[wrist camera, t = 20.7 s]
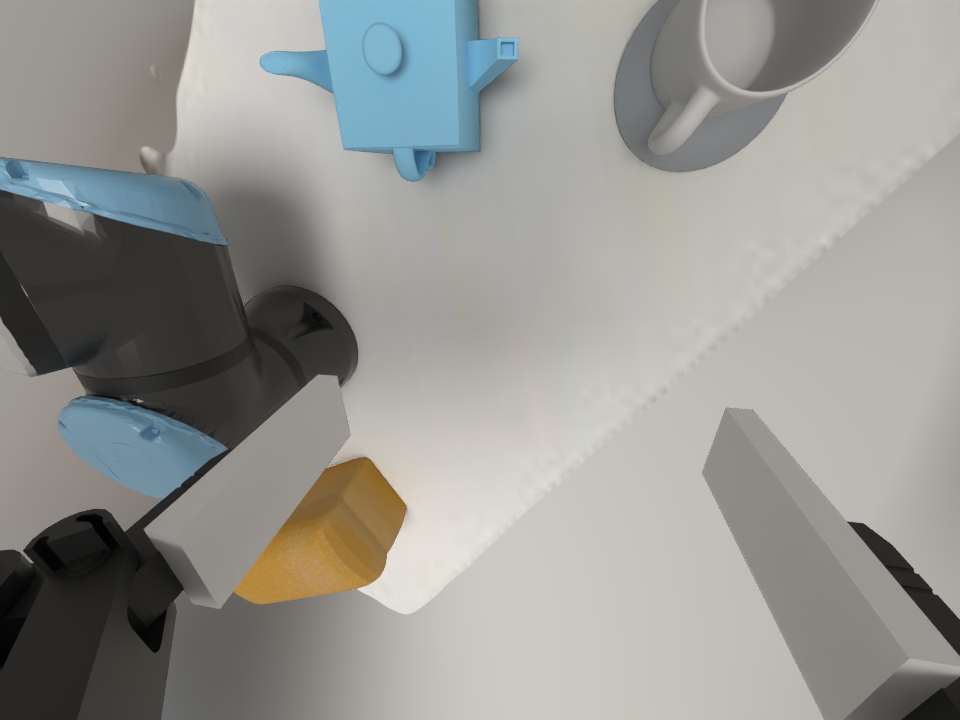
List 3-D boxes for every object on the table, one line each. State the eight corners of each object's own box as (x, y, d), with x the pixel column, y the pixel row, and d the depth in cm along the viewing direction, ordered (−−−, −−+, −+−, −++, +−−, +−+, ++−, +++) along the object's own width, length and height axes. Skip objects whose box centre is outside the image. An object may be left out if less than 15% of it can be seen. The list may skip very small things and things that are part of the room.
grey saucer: (603, 172, 33) (604, 172, 33) (629, -22, 27) (631, -27, 27) (759, 170, 31) (764, 170, 31) (824, -40, 25) (832, -46, 25)
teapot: (522, 178, 35) (511, 181, 25) (348, 180, 38) (277, 184, 28) (530, -56, 27) (518, -182, 18) (313, -31, 30) (199, -128, 20)
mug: (708, -51, 25) (803, -180, 16) (802, 22, 26) (944, -60, 17) (598, 127, 31) (619, 110, 22) (678, 182, 32) (731, 189, 23)
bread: (366, 453, 56) (311, 539, 43) (411, 509, 60) (372, 603, 47) (263, 487, 65) (190, 568, 52) (308, 535, 69) (251, 620, 56)
